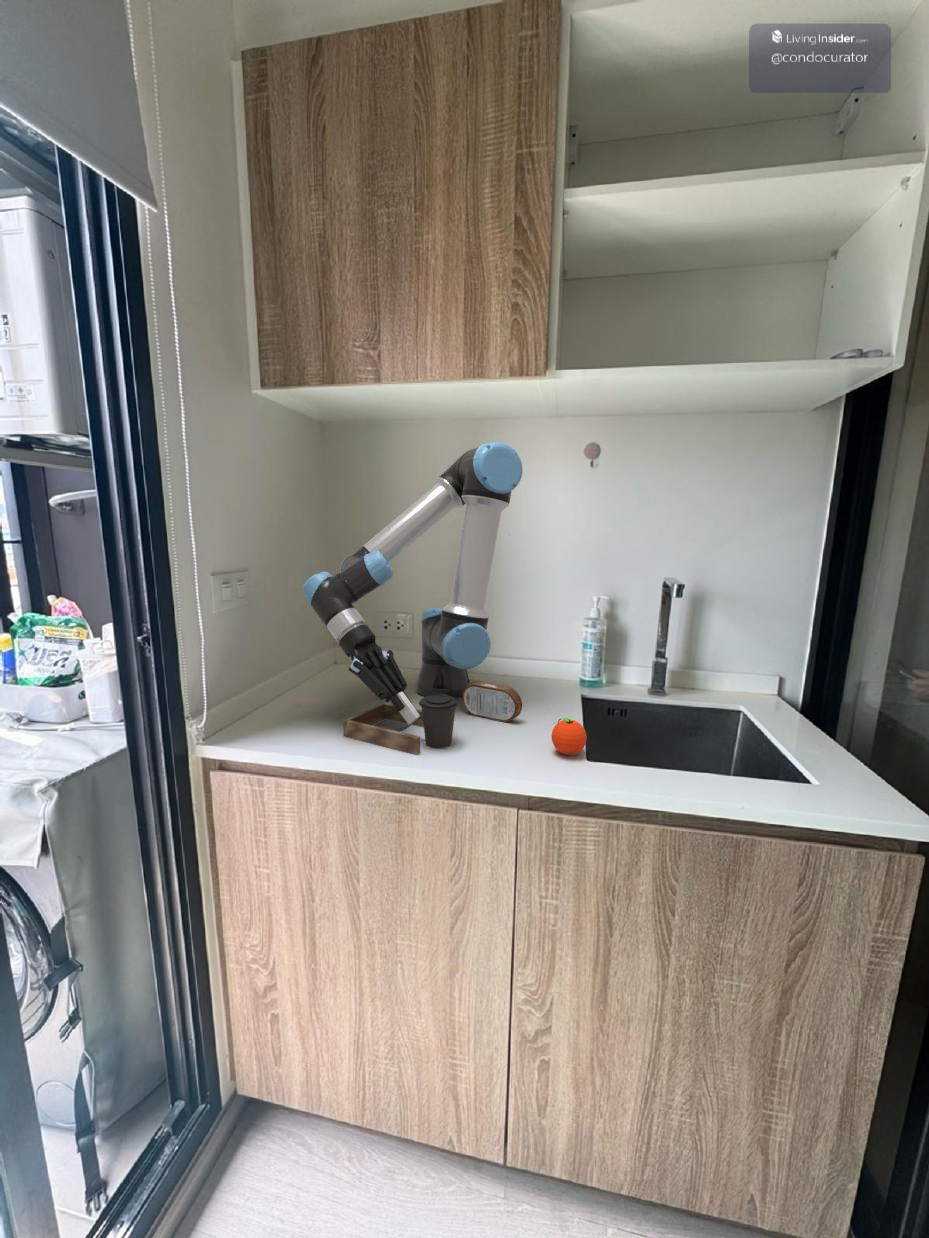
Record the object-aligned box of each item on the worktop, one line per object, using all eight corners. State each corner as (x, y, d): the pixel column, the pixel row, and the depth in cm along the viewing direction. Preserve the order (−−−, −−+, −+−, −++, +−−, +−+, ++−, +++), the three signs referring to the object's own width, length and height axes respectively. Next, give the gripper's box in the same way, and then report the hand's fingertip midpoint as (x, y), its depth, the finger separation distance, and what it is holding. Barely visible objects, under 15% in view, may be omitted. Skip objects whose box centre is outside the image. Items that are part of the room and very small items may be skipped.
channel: (343, 736, 113) (343, 720, 112) (383, 716, 125) (383, 702, 124) (417, 754, 104) (417, 738, 103) (452, 731, 116) (452, 716, 115)
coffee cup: (459, 736, 113) (459, 691, 112) (456, 751, 106) (456, 704, 104) (421, 735, 114) (421, 690, 112) (416, 750, 106) (416, 703, 104)
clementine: (541, 747, 108) (542, 714, 107) (570, 742, 111) (571, 710, 110) (562, 763, 101) (564, 728, 100) (593, 757, 103) (594, 723, 102)
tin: (522, 722, 122) (523, 687, 121) (516, 726, 120) (517, 690, 118) (466, 710, 130) (466, 677, 128) (460, 714, 127) (460, 680, 126)
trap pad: (355, 735, 113) (355, 734, 113) (386, 719, 123) (386, 718, 123) (381, 742, 110) (381, 740, 110) (411, 725, 119) (411, 724, 119)
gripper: (362, 638, 123) (421, 720, 118) (322, 649, 112) (385, 740, 107) (380, 618, 119) (441, 701, 114) (340, 627, 108) (406, 720, 103)
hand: (414, 720), depth 110 cm, fingers closed
